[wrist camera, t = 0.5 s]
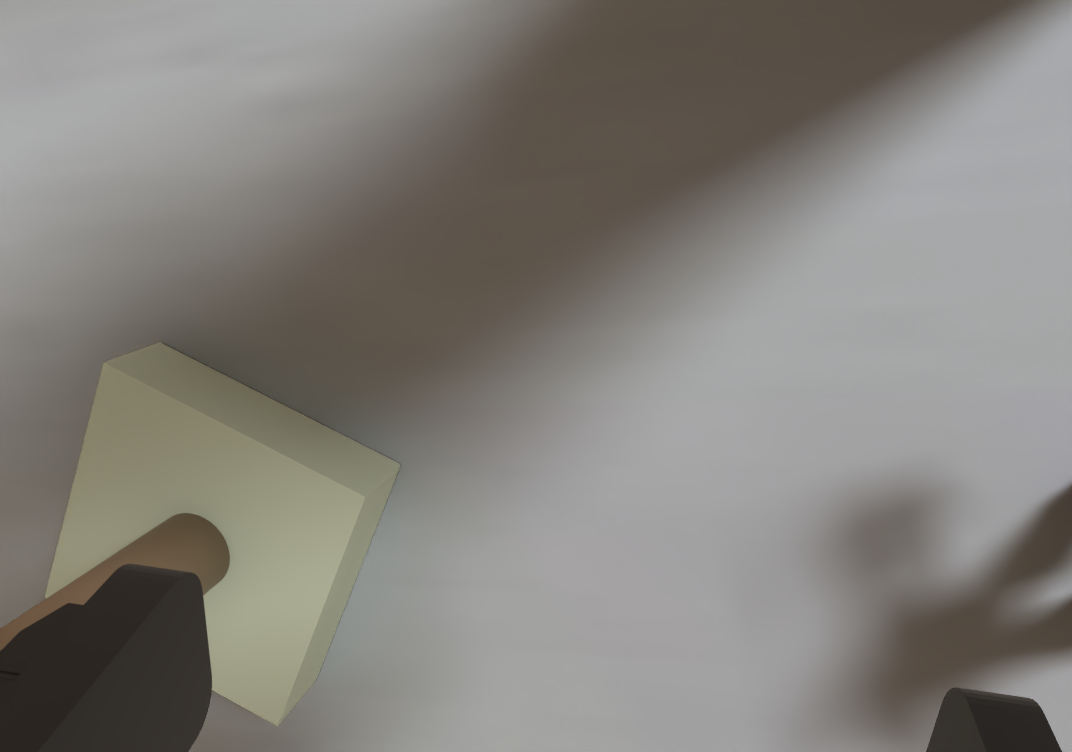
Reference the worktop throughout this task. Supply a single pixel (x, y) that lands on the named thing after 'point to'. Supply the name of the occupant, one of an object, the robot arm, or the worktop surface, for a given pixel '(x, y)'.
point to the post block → (221, 517)
